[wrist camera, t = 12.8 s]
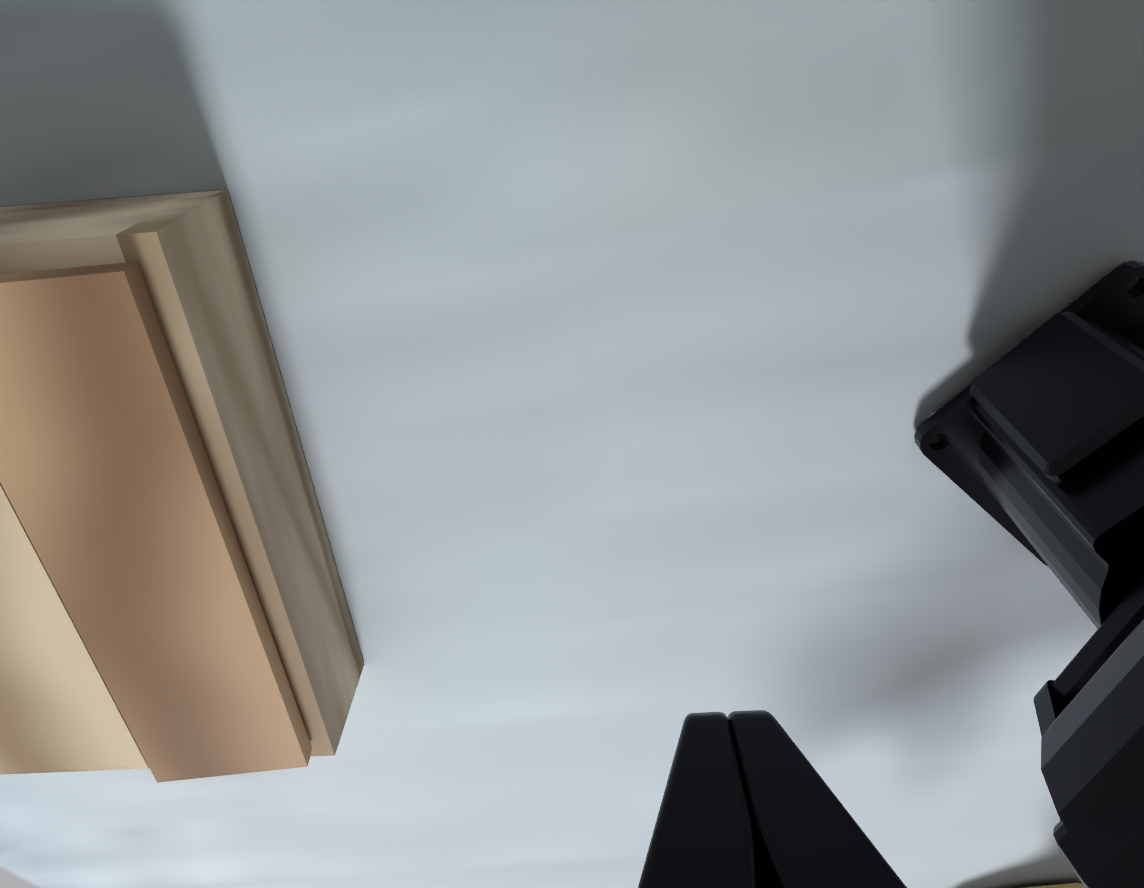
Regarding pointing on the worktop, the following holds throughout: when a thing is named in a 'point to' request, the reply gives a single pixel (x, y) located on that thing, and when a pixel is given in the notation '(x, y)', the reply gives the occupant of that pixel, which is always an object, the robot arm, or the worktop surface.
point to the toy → (1060, 886)
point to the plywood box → (237, 458)
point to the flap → (137, 525)
